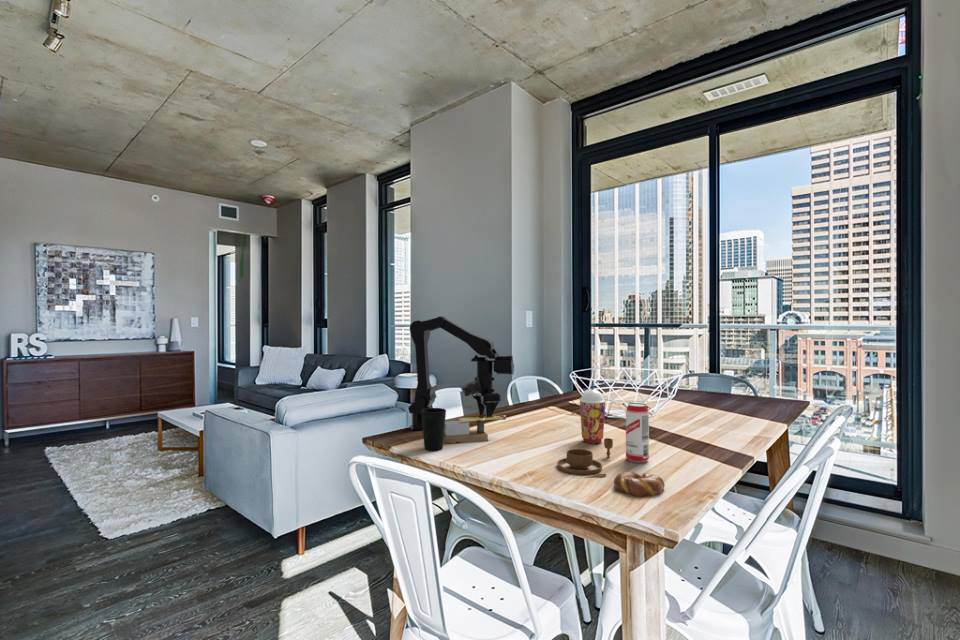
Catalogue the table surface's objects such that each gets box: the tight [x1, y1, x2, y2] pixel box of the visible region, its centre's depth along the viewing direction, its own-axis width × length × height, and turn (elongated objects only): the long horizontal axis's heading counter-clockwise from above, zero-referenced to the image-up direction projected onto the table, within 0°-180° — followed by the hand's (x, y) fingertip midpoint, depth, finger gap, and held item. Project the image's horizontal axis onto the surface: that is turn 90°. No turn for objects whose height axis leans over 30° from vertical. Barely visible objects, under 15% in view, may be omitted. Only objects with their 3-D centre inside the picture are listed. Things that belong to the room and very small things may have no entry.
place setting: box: [556, 437, 614, 479], centre depth 130 cm, size 18×20×6 cm
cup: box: [421, 407, 447, 452], centre depth 148 cm, size 8×8×12 cm
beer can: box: [625, 402, 650, 464], centre depth 136 cm, size 6×6×16 cm
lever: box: [458, 414, 507, 422], centre depth 161 cm, size 4×16×1 cm, turn 106°
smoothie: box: [579, 380, 607, 444], centre depth 157 cm, size 8×8×20 cm
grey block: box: [444, 420, 470, 437], centre depth 158 cm, size 4×8×4 cm, turn 106°
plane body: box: [443, 420, 489, 445], centre depth 158 cm, size 7×17×6 cm, turn 106°
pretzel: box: [613, 471, 666, 497], centre depth 114 cm, size 12×11×4 cm
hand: (484, 417), depth 170 cm, fingers open, 9 cm apart
